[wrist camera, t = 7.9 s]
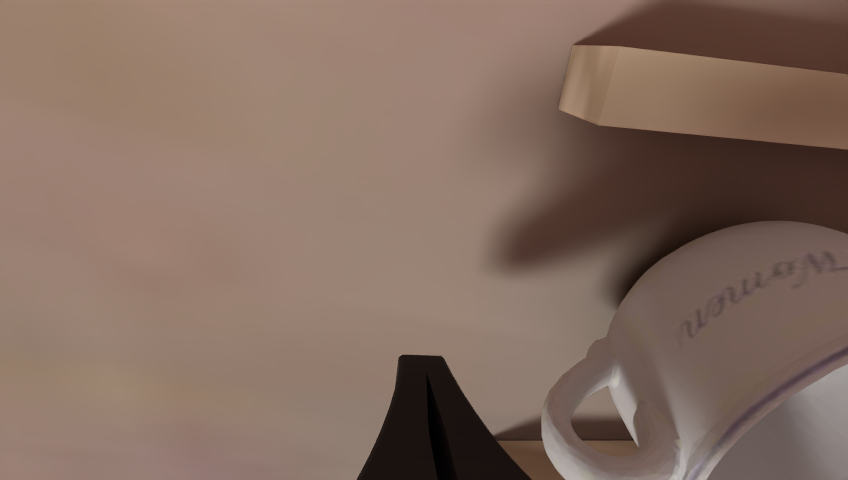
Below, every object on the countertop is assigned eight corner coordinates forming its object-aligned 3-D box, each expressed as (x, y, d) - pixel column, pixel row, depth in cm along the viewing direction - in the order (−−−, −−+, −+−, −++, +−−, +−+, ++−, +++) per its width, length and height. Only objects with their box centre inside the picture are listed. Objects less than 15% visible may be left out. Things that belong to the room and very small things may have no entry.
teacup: (862, 206, 17) (1206, 325, 10) (745, 403, 22) (924, 584, 15) (536, 172, 15) (672, 288, 8) (481, 395, 20) (538, 597, 13)
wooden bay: (767, 465, 24) (816, 519, 21) (475, 467, 22) (488, 528, 19) (1007, 97, 16) (1136, 109, 13) (572, 45, 14) (619, 45, 11)
